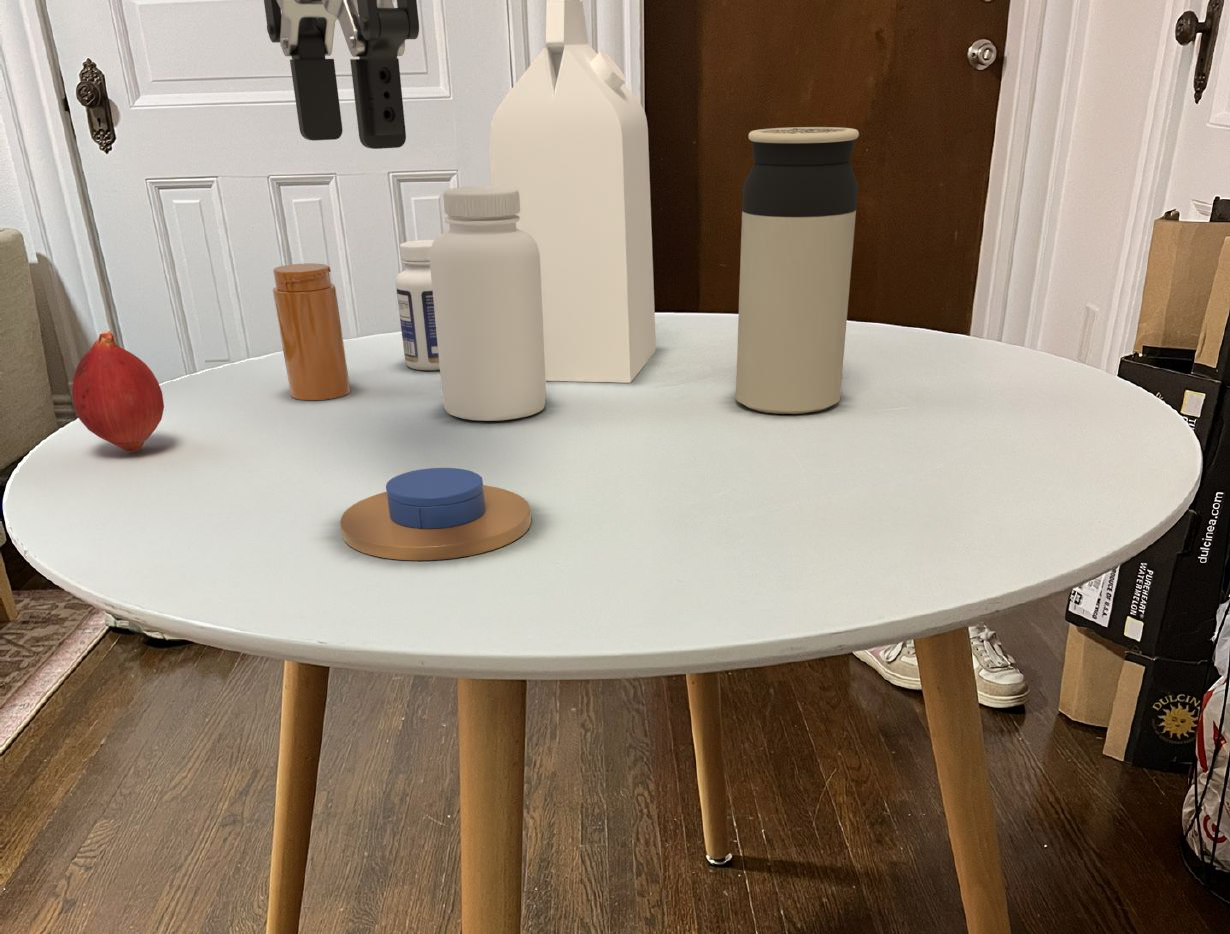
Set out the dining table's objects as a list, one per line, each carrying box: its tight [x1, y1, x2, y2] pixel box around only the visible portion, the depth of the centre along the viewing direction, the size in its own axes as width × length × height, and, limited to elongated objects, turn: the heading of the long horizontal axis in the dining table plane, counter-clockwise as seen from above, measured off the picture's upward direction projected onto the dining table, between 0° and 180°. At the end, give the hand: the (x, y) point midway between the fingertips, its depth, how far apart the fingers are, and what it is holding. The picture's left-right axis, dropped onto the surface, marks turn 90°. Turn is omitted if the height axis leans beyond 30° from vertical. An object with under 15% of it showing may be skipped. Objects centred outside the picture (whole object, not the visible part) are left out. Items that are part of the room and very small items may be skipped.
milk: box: [488, 0, 657, 384], centre depth 94 cm, size 12×12×26 cm
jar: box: [272, 262, 351, 401], centre depth 92 cm, size 5×5×9 cm
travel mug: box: [735, 126, 860, 415], centre depth 84 cm, size 8×8×18 cm
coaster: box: [339, 484, 532, 561], centre depth 67 cm, size 11×11×1 cm
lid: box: [385, 467, 485, 529], centre depth 66 cm, size 6×6×2 cm
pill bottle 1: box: [395, 239, 440, 371], centre depth 99 cm, size 5×5×10 cm
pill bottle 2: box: [430, 185, 547, 422], centre depth 85 cm, size 8×8×15 cm
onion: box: [71, 330, 165, 453], centre depth 79 cm, size 6×6×8 cm
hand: (351, 143), depth 60 cm, fingers open, 8 cm apart
